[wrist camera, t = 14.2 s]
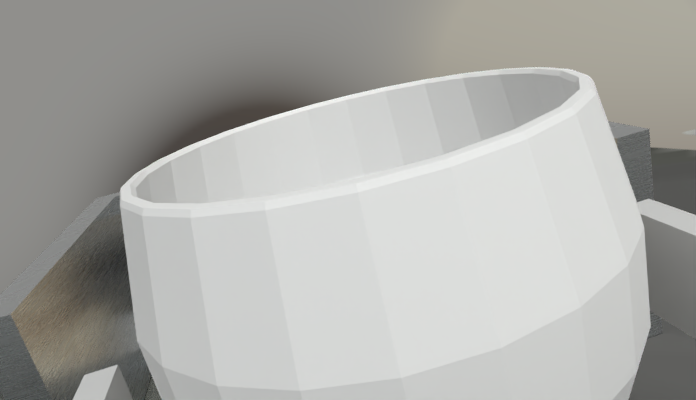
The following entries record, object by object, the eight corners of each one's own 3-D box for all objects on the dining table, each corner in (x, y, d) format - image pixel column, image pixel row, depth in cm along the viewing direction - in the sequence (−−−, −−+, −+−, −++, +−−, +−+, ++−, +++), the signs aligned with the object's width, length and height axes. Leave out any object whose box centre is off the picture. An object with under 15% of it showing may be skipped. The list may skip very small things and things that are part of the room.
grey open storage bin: (74, 532, 22) (-33, 327, 19) (146, 324, 39) (96, 198, 36) (662, 332, 25) (649, 128, 22) (493, 220, 42) (473, 96, 40)
